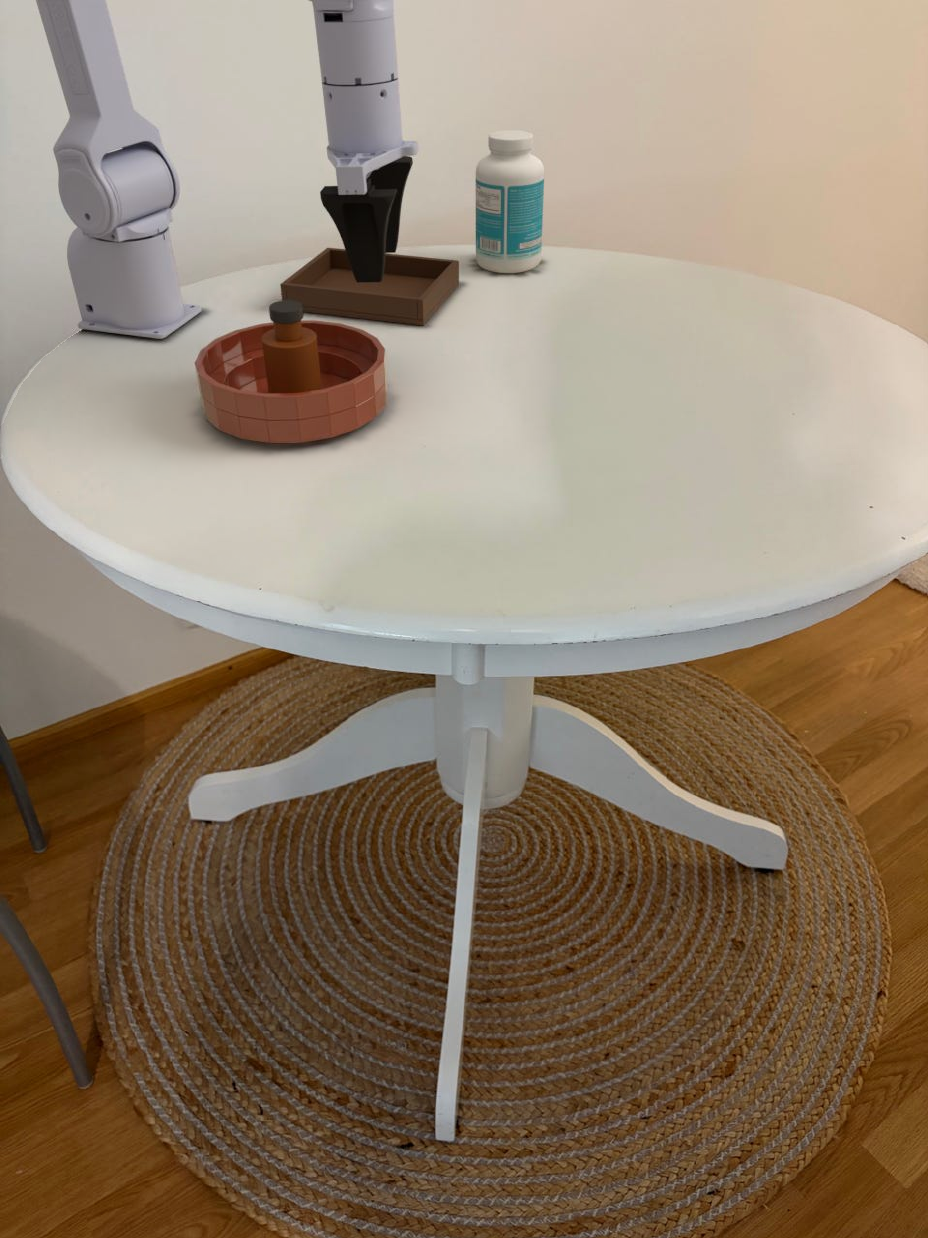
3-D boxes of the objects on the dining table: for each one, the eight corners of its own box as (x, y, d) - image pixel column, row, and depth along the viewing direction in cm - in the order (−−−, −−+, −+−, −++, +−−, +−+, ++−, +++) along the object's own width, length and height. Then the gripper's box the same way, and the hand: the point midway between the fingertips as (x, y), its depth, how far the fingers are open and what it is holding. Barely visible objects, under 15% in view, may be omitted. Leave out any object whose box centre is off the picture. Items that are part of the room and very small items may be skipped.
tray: (282, 309, 98) (279, 283, 96) (329, 270, 107) (327, 247, 105) (423, 325, 94) (422, 299, 93) (459, 284, 103) (459, 260, 102)
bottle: (260, 407, 79) (247, 312, 74) (283, 385, 82) (272, 293, 77) (309, 414, 78) (299, 318, 73) (330, 392, 81) (322, 298, 76)
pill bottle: (541, 255, 111) (548, 127, 103) (539, 276, 105) (546, 143, 97) (477, 252, 112) (479, 125, 103) (472, 274, 106) (472, 141, 98)
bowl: (170, 434, 76) (159, 382, 74) (255, 360, 88) (248, 312, 85) (347, 461, 73) (342, 407, 70) (411, 380, 84) (410, 331, 82)
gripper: (399, 95, 65) (413, 294, 73) (424, 63, 76) (434, 239, 85) (298, 97, 66) (323, 295, 74) (338, 66, 77) (356, 240, 85)
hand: (377, 265), depth 79 cm, fingers open, 7 cm apart
